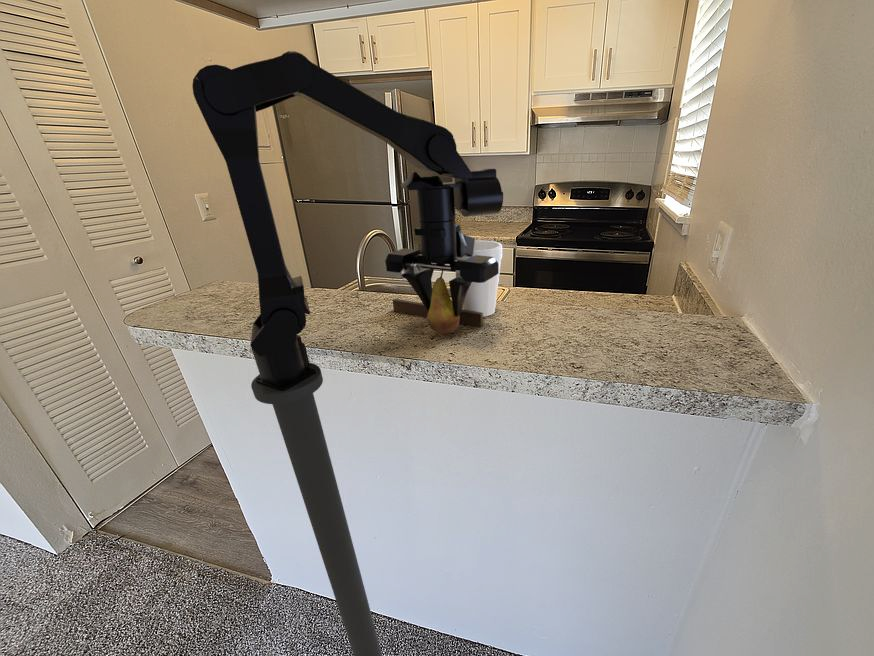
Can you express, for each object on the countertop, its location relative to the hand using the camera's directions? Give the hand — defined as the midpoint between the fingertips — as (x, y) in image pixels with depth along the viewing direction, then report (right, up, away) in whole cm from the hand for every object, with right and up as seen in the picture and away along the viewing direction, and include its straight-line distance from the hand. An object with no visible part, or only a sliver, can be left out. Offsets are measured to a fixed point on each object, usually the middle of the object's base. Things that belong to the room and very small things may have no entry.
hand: (443, 313), depth 70 cm
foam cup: (+6, +2, +11) cm, 13 cm away
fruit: (0, -3, +1) cm, 4 cm away
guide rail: (-2, 0, +8) cm, 9 cm away
